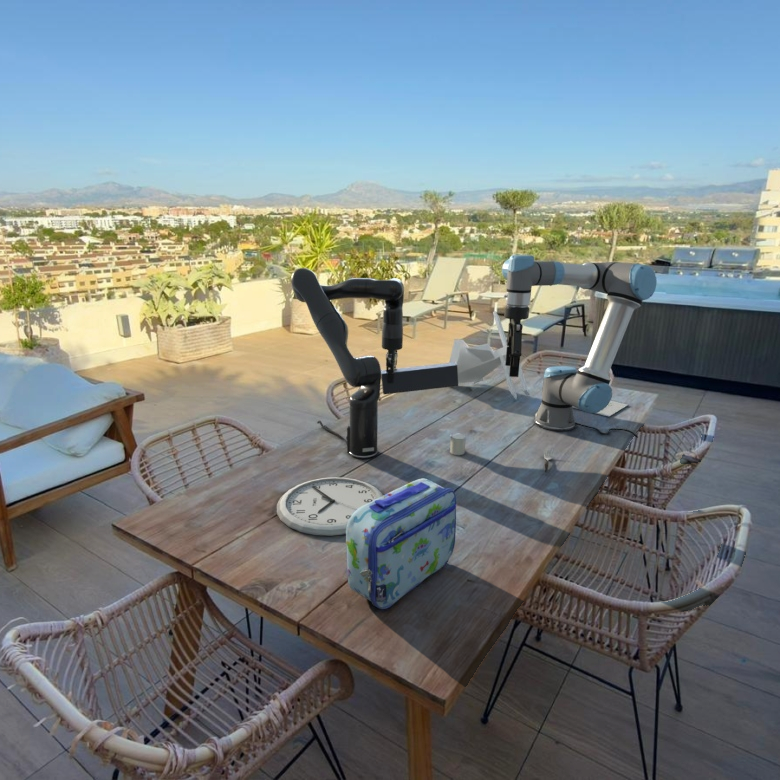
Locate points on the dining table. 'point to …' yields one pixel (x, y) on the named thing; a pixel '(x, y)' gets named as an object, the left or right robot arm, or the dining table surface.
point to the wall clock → (324, 504)
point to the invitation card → (611, 408)
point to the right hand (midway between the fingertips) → (511, 370)
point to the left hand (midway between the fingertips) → (391, 380)
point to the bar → (421, 378)
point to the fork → (547, 459)
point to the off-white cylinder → (457, 444)
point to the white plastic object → (483, 361)
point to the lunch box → (400, 540)
